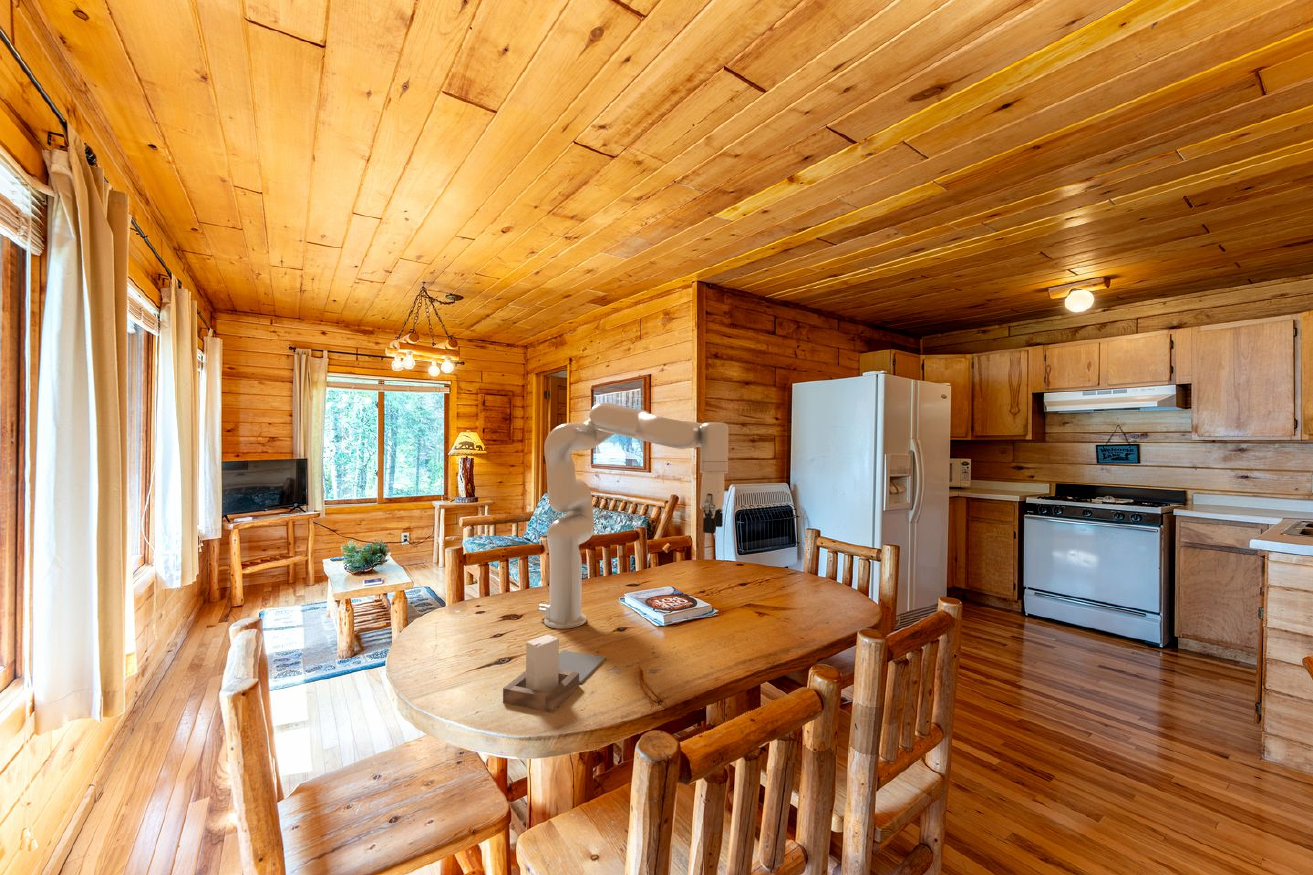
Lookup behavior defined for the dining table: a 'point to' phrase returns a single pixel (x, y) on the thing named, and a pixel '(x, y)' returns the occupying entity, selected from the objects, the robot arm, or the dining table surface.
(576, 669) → the rubber mat
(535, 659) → the skincare box
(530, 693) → the square box holder
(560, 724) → the dining table surface
